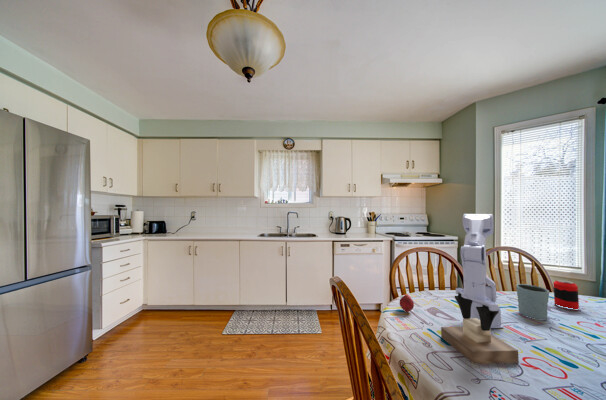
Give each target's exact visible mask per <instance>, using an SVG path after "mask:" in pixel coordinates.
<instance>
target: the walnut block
mask: <svg viewBox="0 0 606 400" xmlns="http://www.w3.org/2000/svg"><path fill="white" fill-rule="evenodd" d="M440 335H441V339H443V340H444V341H445V342H446V343H448V344H449V345H450V346H452V347H453V348H454V349H455V350H456V351H457V352H458V353H460V354H461V355H463V357H465V358H466V359H467V360H468V359H469V360H470V361H469V360H468V361H469V362H471V363H472V362H473V363H480V364H481V365H484V364H517V363H520V361H519V350H518V349H517V348H515V347H514V346H512V345H510V344H509V343H507V342H505V341H504V340H502V339H501V338H498V337H497V336H496V335H493V334H492V333H491V342H479V343H477V342H475V341H473V340H472V339H470V338H469V337H467V336H466V335H464V334H463V326H441V328H440ZM473 363H472V364H473Z"/></svg>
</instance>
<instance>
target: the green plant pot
mask: <svg viewBox="0 0 606 400" xmlns="http://www.w3.org/2000/svg"><path fill="white" fill-rule="evenodd" d="M515 286H516V287H515V288H516V295H517V302H518V313H519V314H520V313H521V314H523V315H525V316H524V317H526V316H528V317H527V318H529V317H531V318H530V319H532V318H535V319H534V320H537V319H546V320H547V319H548V313H549V312H548V307H549V305H548V303H549V296H550V290H548V289H546V288H544V287H541V286H537V285H532V284H525V283H517V284H515ZM521 314H520V315H521ZM523 315H522V316H523Z"/></svg>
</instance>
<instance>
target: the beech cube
mask: <svg viewBox="0 0 606 400" xmlns="http://www.w3.org/2000/svg"><path fill="white" fill-rule="evenodd" d="M462 327H463V334H464V335H466V336H467V337H469V338H470V339H472V340H473V341H475V342H477V343H479V342H491V334H492V333H491V330H490V331H483V330H482V329H481V323H480V320H479V319H477V318H469V319H464V318H462Z"/></svg>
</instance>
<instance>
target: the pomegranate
mask: <svg viewBox="0 0 606 400" xmlns="http://www.w3.org/2000/svg"><path fill="white" fill-rule="evenodd" d="M399 306H400V308H401V309H402V310H403V311H404V312H405V313H409V312H411V311H412V310H413V309H414V307H415V303H414V300H413V299H412V297H410V296H409V294H408V293H405V294H404V295H403V296H402V297H400V299H399Z"/></svg>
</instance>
